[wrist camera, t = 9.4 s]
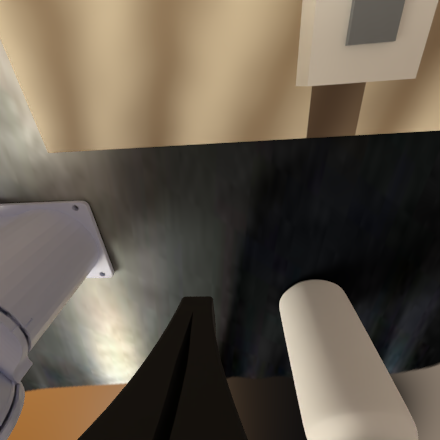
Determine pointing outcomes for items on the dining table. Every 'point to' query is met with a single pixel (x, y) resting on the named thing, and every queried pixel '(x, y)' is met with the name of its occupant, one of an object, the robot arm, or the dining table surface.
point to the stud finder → (362, 40)
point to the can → (339, 369)
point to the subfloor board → (193, 75)
